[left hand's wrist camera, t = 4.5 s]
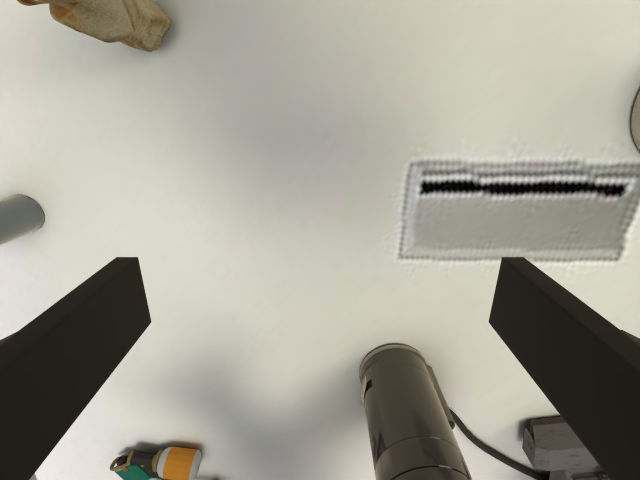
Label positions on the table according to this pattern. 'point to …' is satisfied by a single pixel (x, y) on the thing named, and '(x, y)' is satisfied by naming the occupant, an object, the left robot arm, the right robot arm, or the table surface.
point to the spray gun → (159, 465)
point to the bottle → (19, 217)
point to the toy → (559, 451)
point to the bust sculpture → (636, 121)
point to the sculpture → (112, 20)
